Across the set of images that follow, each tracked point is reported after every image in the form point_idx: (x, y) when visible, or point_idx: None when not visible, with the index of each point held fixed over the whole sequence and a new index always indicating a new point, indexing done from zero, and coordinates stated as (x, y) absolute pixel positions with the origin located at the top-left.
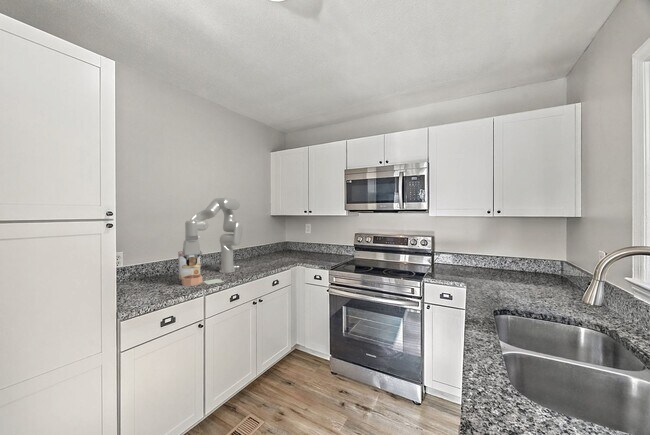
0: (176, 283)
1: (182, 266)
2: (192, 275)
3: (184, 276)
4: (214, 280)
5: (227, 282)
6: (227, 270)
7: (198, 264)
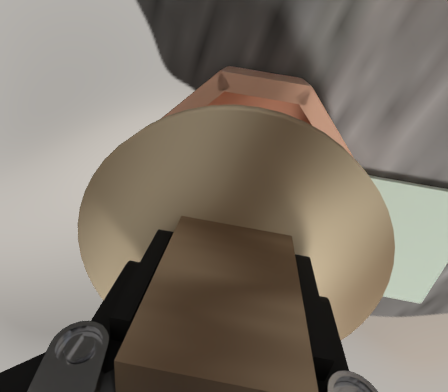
0: (153, 4)
1: (82, 245)
2: (289, 101)
3: (194, 93)
4: (414, 226)
5: (429, 314)
6: None
7: (343, 287)
